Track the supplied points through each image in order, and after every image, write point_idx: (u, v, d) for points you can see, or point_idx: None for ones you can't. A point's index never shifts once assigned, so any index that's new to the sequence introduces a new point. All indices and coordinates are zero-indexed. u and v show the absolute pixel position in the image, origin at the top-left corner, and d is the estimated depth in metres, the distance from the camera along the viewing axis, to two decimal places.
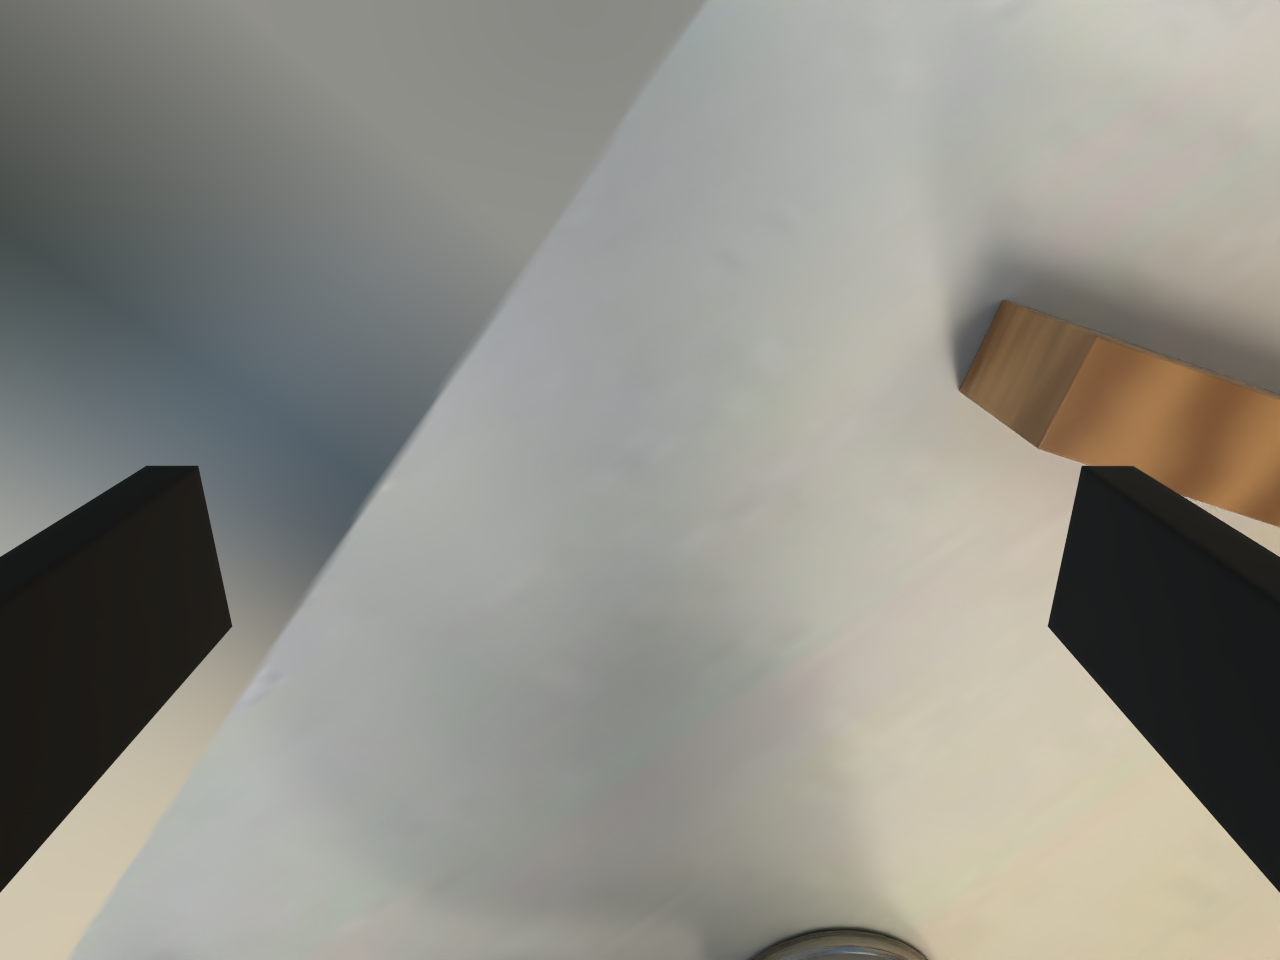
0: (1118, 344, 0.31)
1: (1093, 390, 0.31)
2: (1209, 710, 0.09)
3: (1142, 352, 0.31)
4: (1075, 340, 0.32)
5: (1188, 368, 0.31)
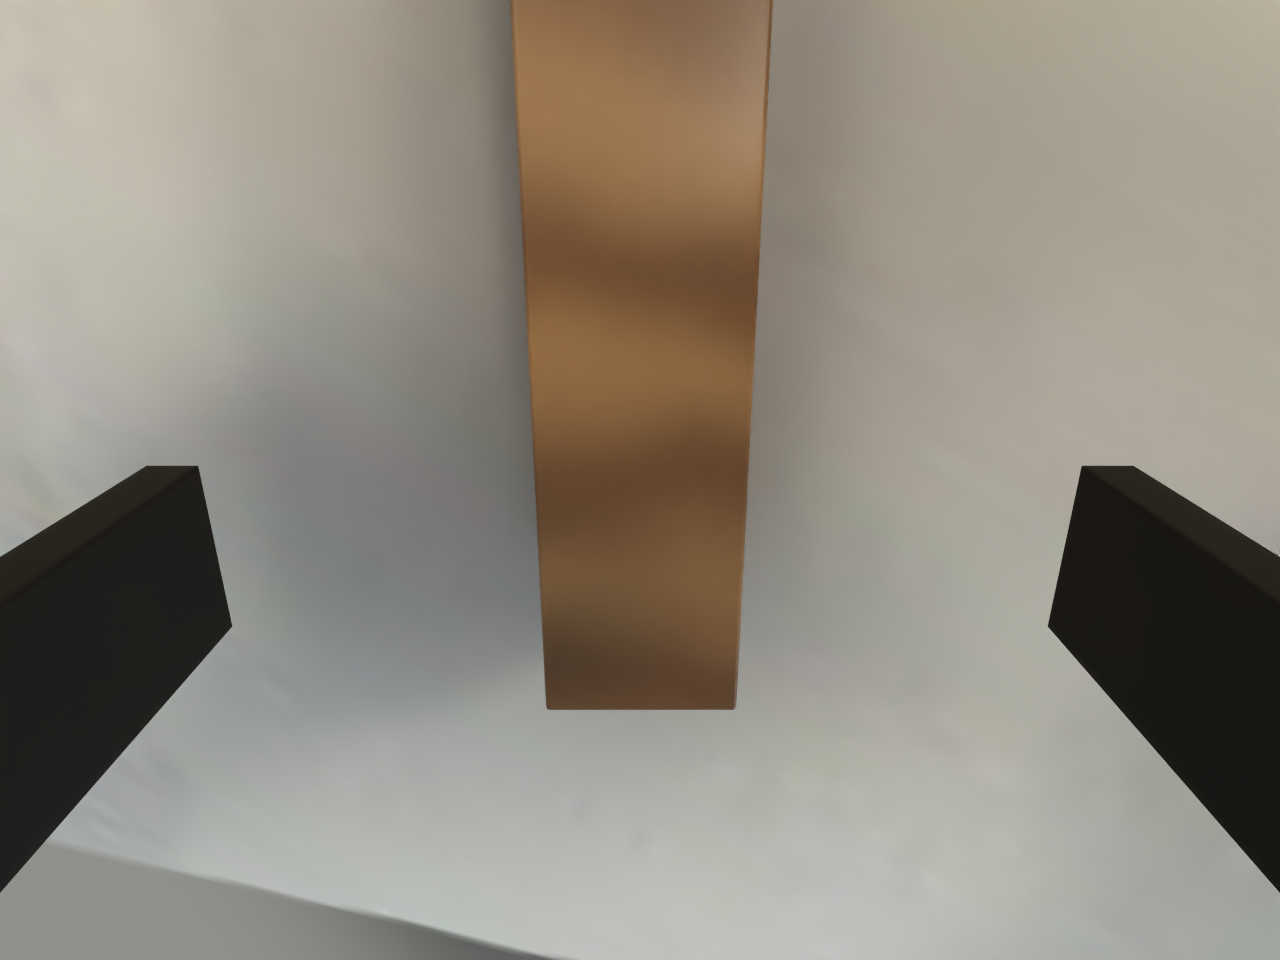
0: (546, 679, 0.20)
1: (622, 679, 0.20)
2: (1209, 710, 0.09)
3: (544, 642, 0.20)
4: None
5: (540, 567, 0.19)
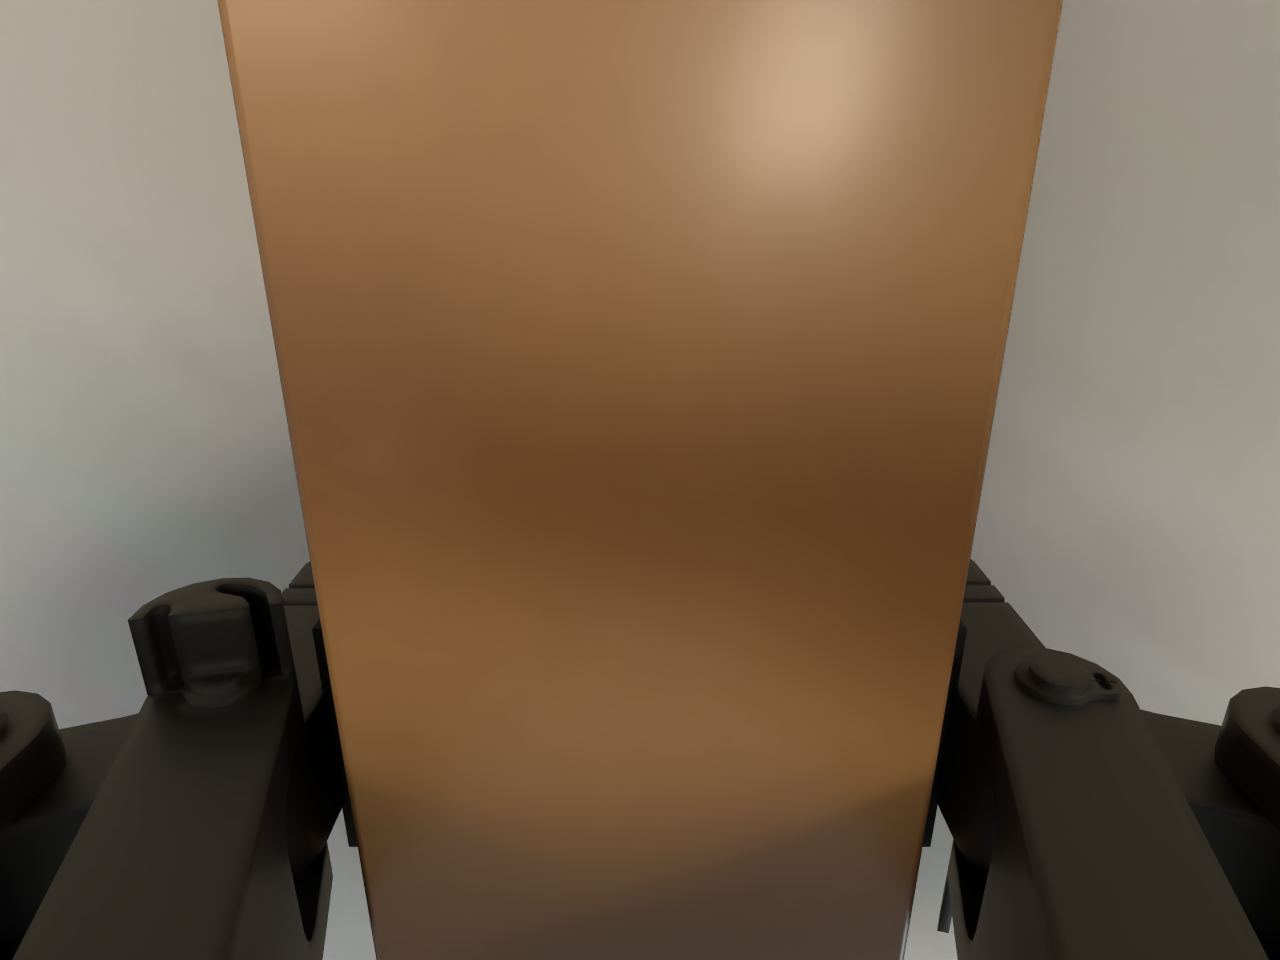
0: None
1: None
2: None
3: None
4: None
5: None
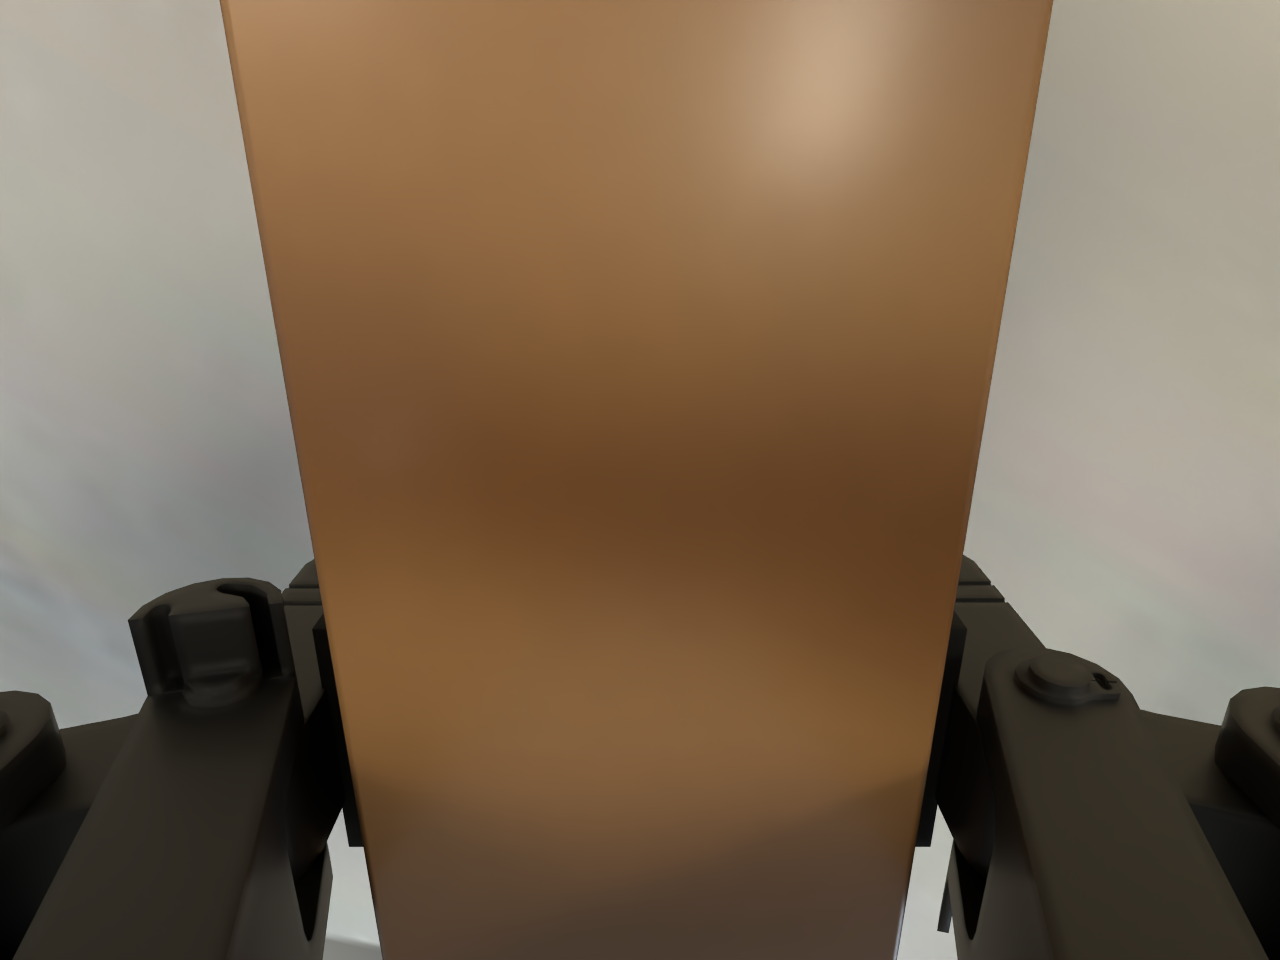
0: None
1: None
2: None
3: None
4: None
5: None
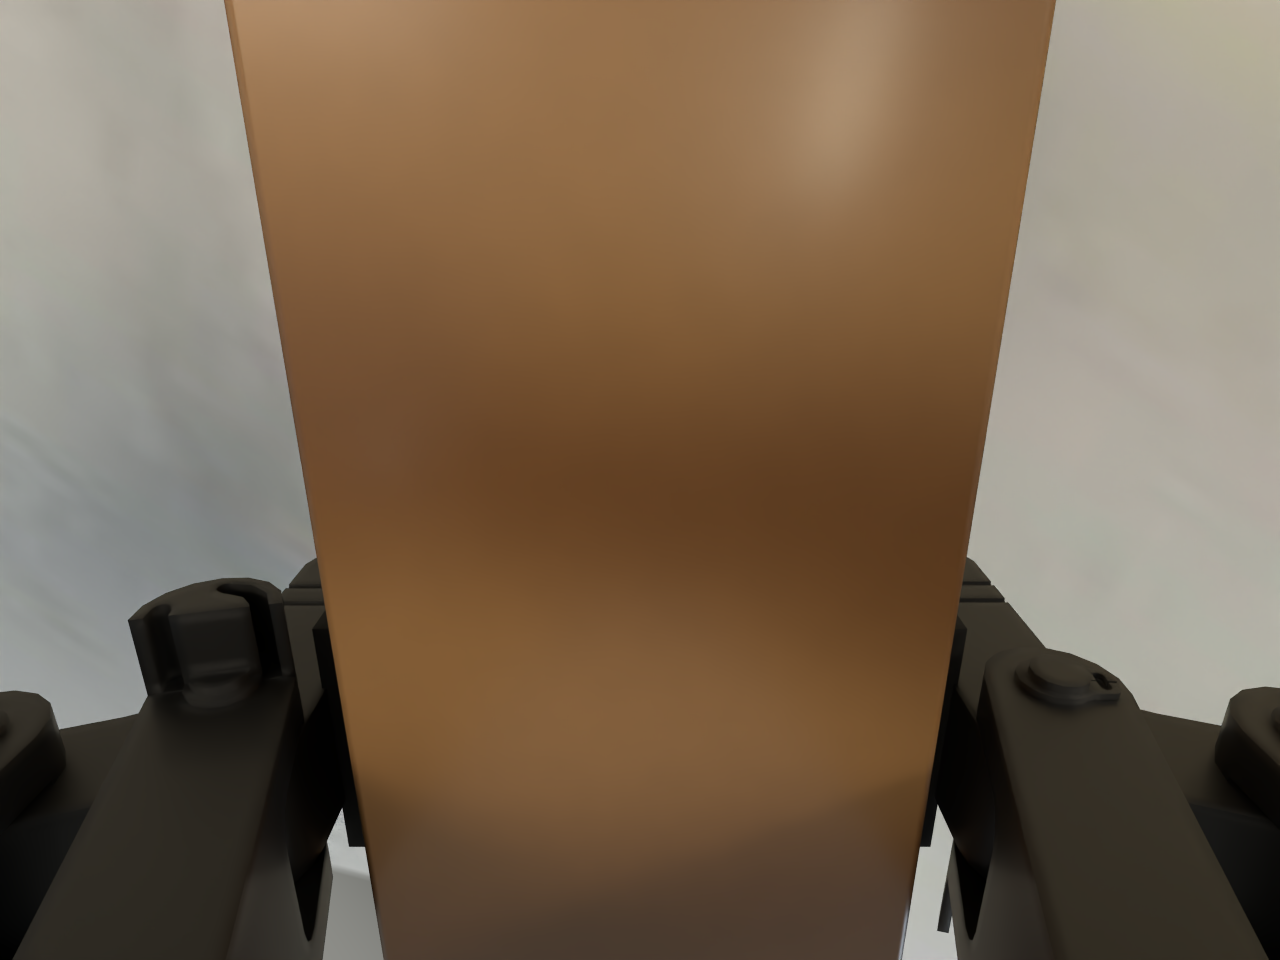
0: None
1: None
2: None
3: None
4: None
5: None
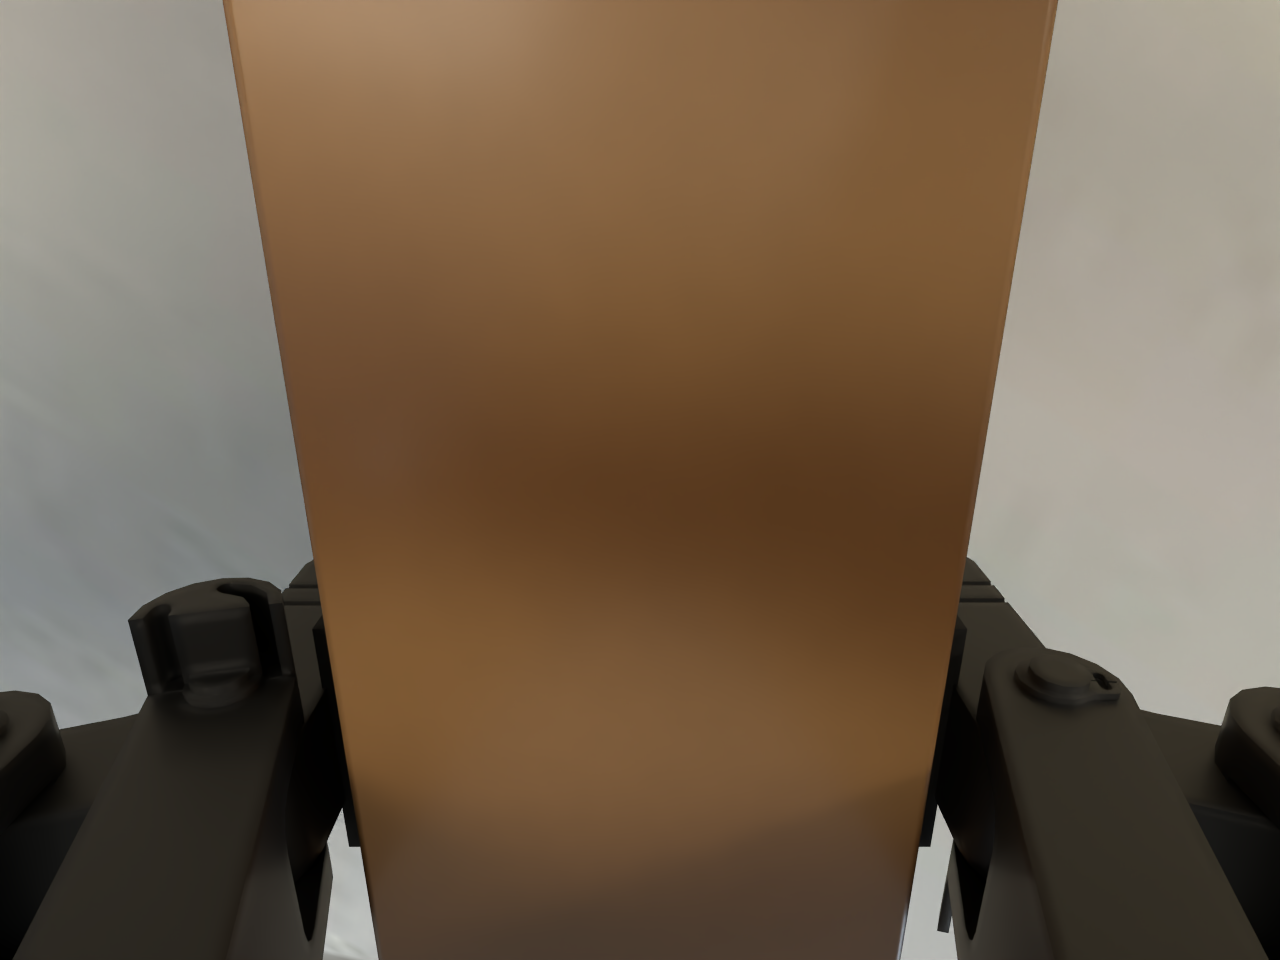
0: None
1: None
2: None
3: None
4: None
5: None
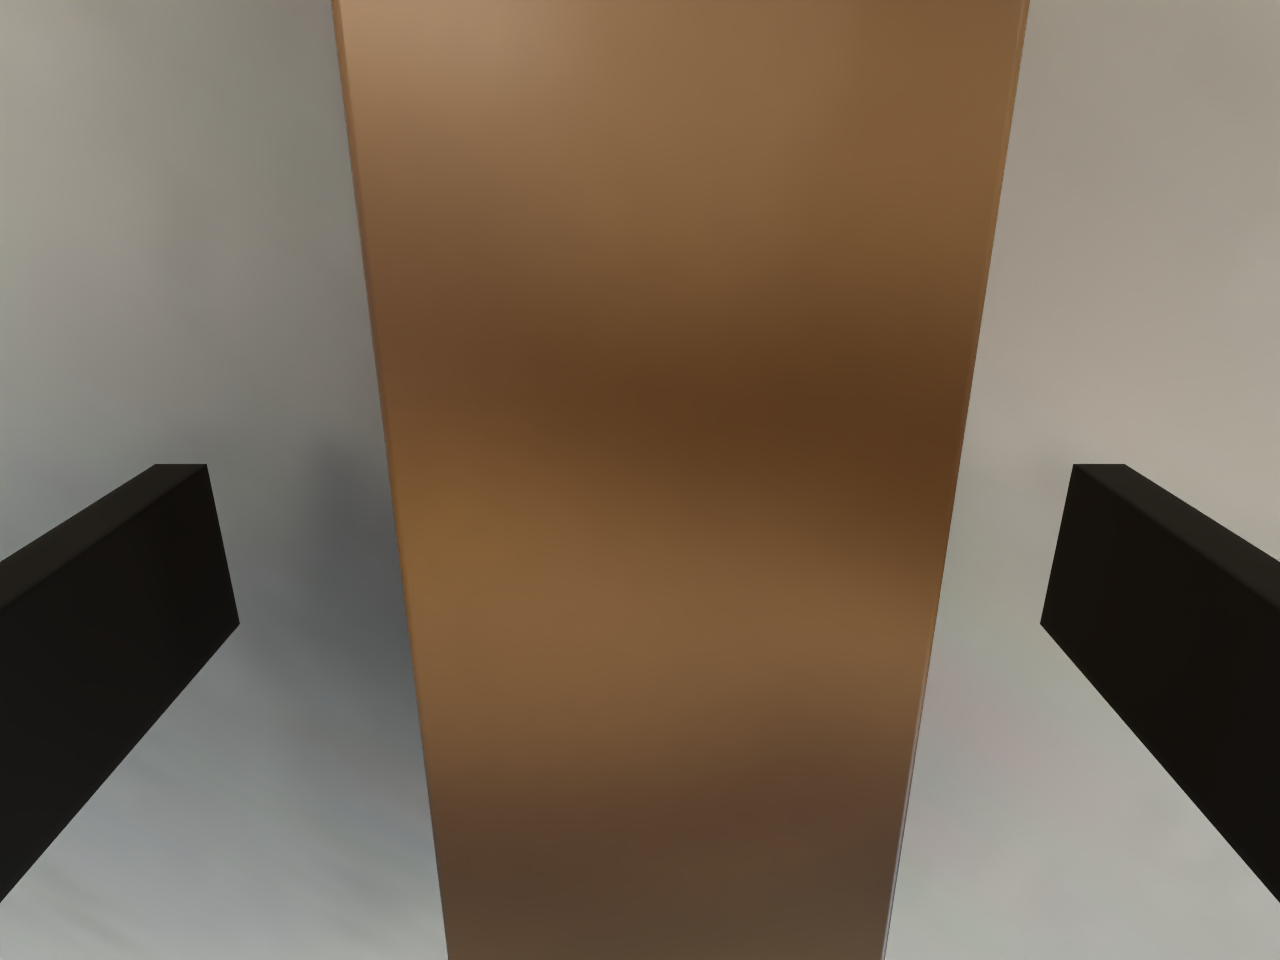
0: None
1: None
2: (1197, 706, 0.09)
3: None
4: None
5: None
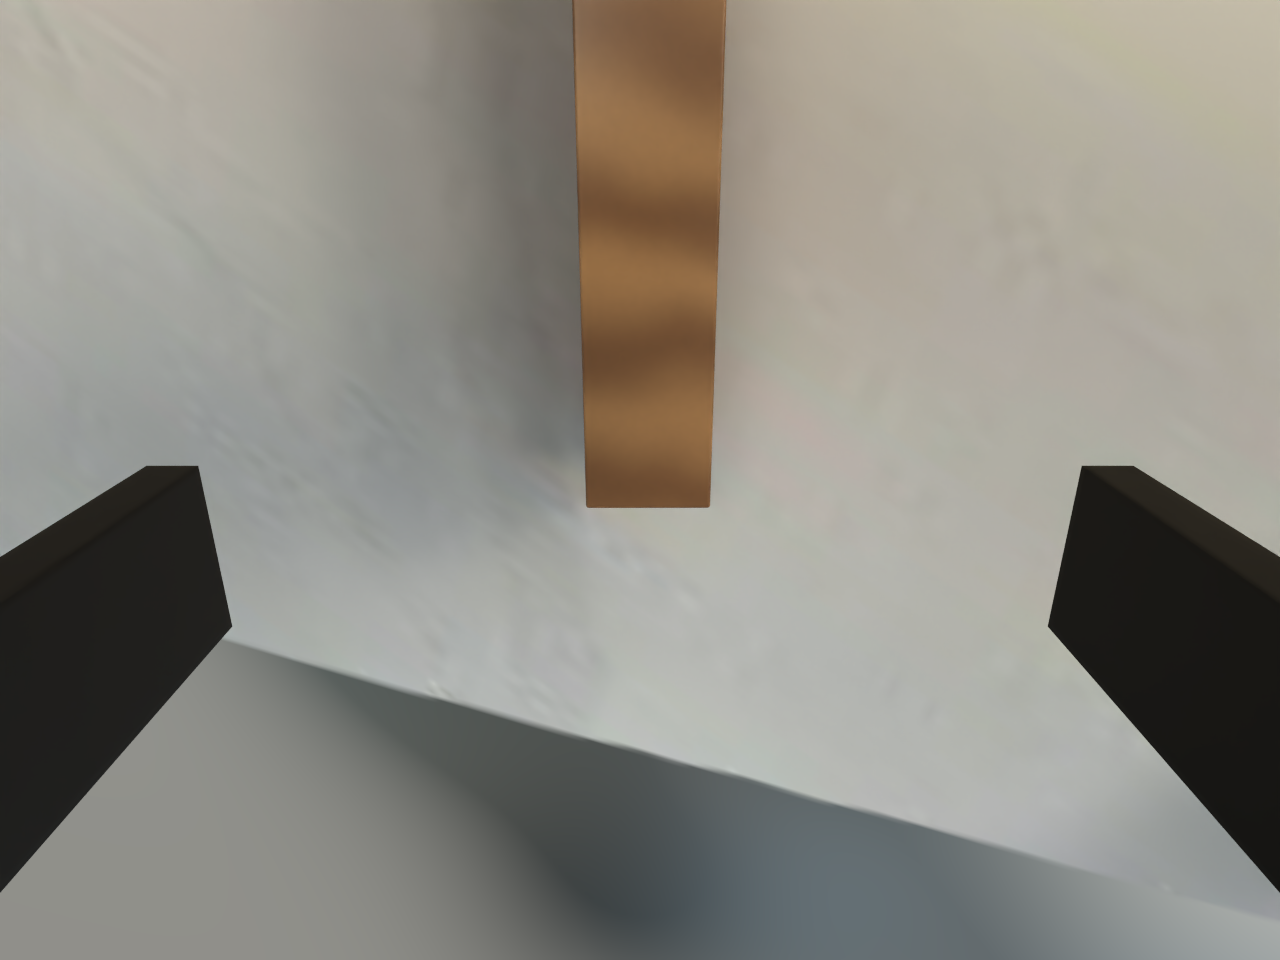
0: (586, 486, 0.31)
1: (636, 485, 0.31)
2: (1209, 710, 0.09)
3: (585, 459, 0.30)
4: None
5: (584, 407, 0.30)
